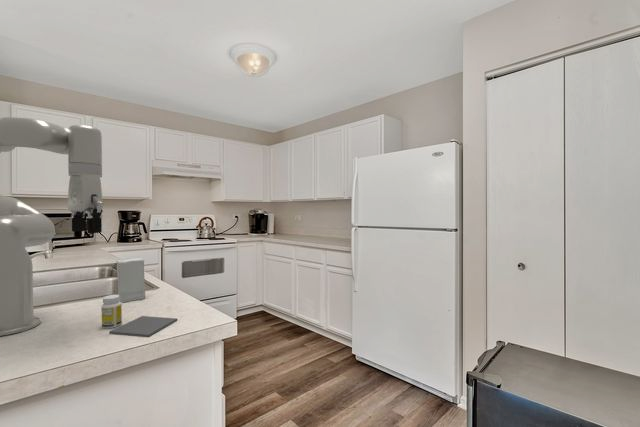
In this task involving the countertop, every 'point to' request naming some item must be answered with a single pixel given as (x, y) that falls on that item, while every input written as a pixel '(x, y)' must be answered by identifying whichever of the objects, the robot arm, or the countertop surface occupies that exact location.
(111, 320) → the supplement bottle
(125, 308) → the countertop surface
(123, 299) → the skincare box
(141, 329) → the mat
